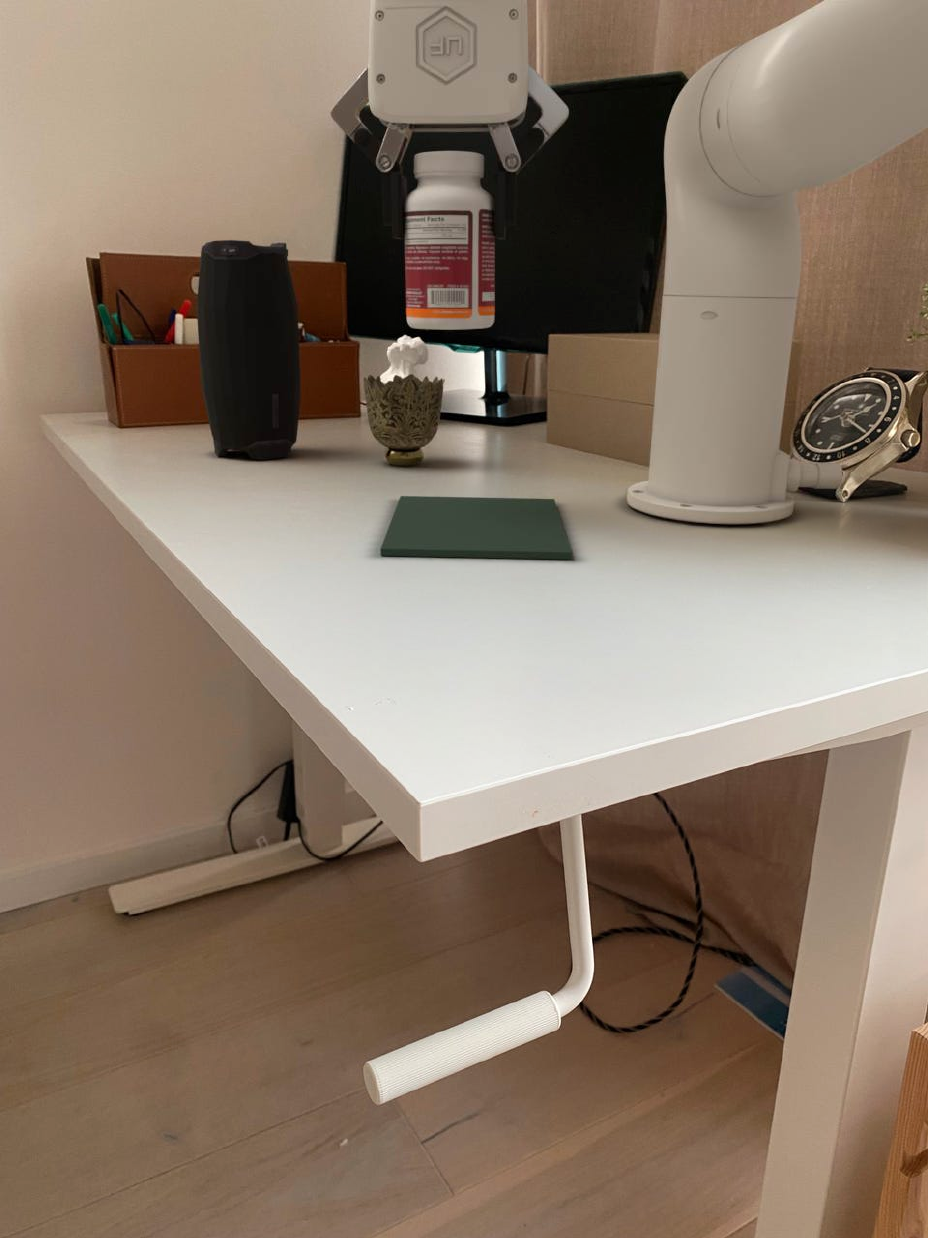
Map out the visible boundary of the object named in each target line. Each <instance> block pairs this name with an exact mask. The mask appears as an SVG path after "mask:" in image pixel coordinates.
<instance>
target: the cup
mask: <svg viewBox="0 0 928 1238" xmlns="http://www.w3.org/2000/svg"><path fill="white" fill-rule="evenodd" d="M380 376H381V375H380ZM380 376H379V375H377V377H374V376H373V375H371V374H369V375H368V376H367V378H366V377H365V376H364V377H363V387H364V395H365V404H366V411H367V419H368V424H369V427H370V428H369V429H370V431H371V433H372V436H373V437H374V439H375V441H377V442H378V443H379V444H380V445H381V446H383V447H386V449H385V451H384V458H385V461H386V462H387V463H388V464H389V465H392V466H396V467H397V466H399V467H412V466H417V465H419V464H421V463H422V461H423V459H424V456H425V455H424V451H423V449H422V448H423V447H426V446H427V445H429V444H430V443H432V441H433V440H434V438H435V436H436V434H437V433H438V428H439V424H440V420H441V419H440V418H441V411H442V403H443V395H444V385H445V384H444V383H445V378H441V377H440V379H439V378H438V376H435V377H434V379H433V380H432V381H430V380H429V377H428V375H426V376H425V377H424V378H423V380H421V379H420V378H419V377H418V378H419V379H420V380H419V379H418V378H416V377H415V376H414V375H413V374H410V375H408V376H407V377H405V378H404V379H402V378H401V377H400V376H397V375H395V376H394V378H393V381H388V382H387V383H383V382H381V380H380ZM384 384H385V385H384Z"/></svg>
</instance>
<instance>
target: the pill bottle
mask: <svg viewBox="0 0 928 1238" xmlns="http://www.w3.org/2000/svg"><path fill="white" fill-rule="evenodd" d="M413 174H414V179H415V180H417V187H416V188H415V189H414V190H412V191H410V192H409V193H408V194H407V198H406V199H405V203H404V235H405V238H404V264H405V265H404V268H405V269H404V271H405V273H404V274H405V314H406V322H407V325H408V326H409V327H410V328H411V329H418V330H441V331H442V330H445V331H446V330H447V331H451V330H453V331H454V330H456V331H457V330H458V331H459V330H476V329H477V330H478V329H488V328H491V327H492V326H493V324H494V323H495V313H496V309H495V308H496V306H495V305H496V301H495V300H496V299H495V298H496V297H495V296H496V295H495V293H496V292H495V291H496V289H495V288H496V287H495V286H496V285H495V278H496V277H495V275H496V273H495V272H496V269H495V268H496V267H495V266H496V262H495V261H496V260H495V259H496V257H495V256H496V253H495V251H496V237H494V196H492V194H491V193H490V192H488V191H487V190H486V189H484V188H483V187H482V185H481V179H484V175H485V156H484V154H481V153H479V152H475V151H466V150H436V151H425V152H418V153H416V154H415V155H414V156H413Z"/></svg>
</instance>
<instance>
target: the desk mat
mask: <svg viewBox="0 0 928 1238" xmlns="http://www.w3.org/2000/svg"><path fill="white" fill-rule="evenodd" d="M379 550H380V551H379V552H380V554H379V555H380V557H418V558H419V557H424V558H465V559H466V558H470V559H471V558H473V559H474V558H475V559H514V560H515V559H518V560H519V559H521V560H572V559H573V557H572V555H573V552H572V550H571V546H570V543H569V541H568V537H567V534H566V531H565V528H564V525H563V521H562V518H561V516H560V512H559V510H558V507H557V504H556V501H555V499H554V498H524V497H520V498H519V497H511V498H510V497H472V496H471V497H469V496H466V497H465V496H460V497H459V496H419V495H418V496H417V495H410V496H409V495H400V496H399V499H398V502H397V505H396V507H395V510H394V512H393V515H392V517H391V520H390V523H389V526H388V528H387V531H386V534H385V536H384V539H383V541H382V543H381V547H380V549H379Z"/></svg>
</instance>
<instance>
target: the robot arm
mask: <svg viewBox="0 0 928 1238" xmlns="http://www.w3.org/2000/svg"><path fill="white" fill-rule="evenodd" d="M369 5H370V6H369V17H368V18H369V21H368V52H367V53H368V55H367V56H368V57H367V66H366V67H365V69H364V70H363V71H362V72H361V73H360V75H359V76H358V77H357V78H356V79H355V81H353V83H352V84H351V85H350V86H349V87H348V88H347V90H345V92H344V93H343V94H342V96H341V97H340V98H339V99H338V100H337V101H336V102H335V104H334V105H333V106H332V107H331V109H330V118H331V119H332V121H334V123H335V124H336V125H338V127H339V128H340V129H341V130H342V131H343V132H344V133H345V134H346V136H347V137H349V139H350V140H351V141H352V142H353V143H354V144H355V145H356V147H358V149H359V150H360V151H361V152H362V153H363V154H364V155H365V156H366V157H367V158H368V159H369V160H370V162H371V163H372V164H373V165H374V166H375V167H376V168H377V169H378V171H380V172H381V205H382V206H381V208H382V224H383V226H384V227H391V238H393V239H395V240H405V235H404V203H405V199H406V198H407V196H408V182H407V177H406V176H404V175H403V173H404V171H403V165H402V163H403V159H404V156H405V154H406V151H407V148H408V146H409V143H410V140H411V138H412V135H413V133H422V132H423V133H461V132H462V133H466V132H467V133H469V132H470V133H471V132H473V133H474V132H477V133H478V132H480V133H481V132H483V133H484V132H489V134H490V137H491V139H492V142H493V145H494V147H495V150H496V152H497V156H498V158H499V160H500V161H499V162H498V164H497V174H494V188H493V189H494V191H493V193H494V194H493V195H494V196H493V199H494V237H495V238H496V239H497V240H506V227H516V225H517V223H516V222H517V221H516V220H517V175H518V174H519V173H520V172H521V171H522V169H523V168H524V167H525V166H526V165H527V164H528V163H529V162H530V161H531V160H532V159H533V157H535V155H537V154H538V152H539V151H540V150H541V149H542V148H543V146H544V145H545V144H547V142H548V141H549V140H550V139H551V138H552V137H553V136H554V135H555V134H556V132H557V131H559V129H560V128H561V127H562V126H563V125H564V124H565V123H566V122H567V120H568V119H569V114H570V110H569V107H568V105H567V104H566V103H565V102H564V100H562V99H561V98H560V97H559V95H558V94H557V93H556V92H555V91H554V90H553V89H552V87H551V86H550V85H549V84H548V83H547V81H545V80H544V78H543V77H542V76H541V75H540V74H539V73H538V71H536V69H535V68H534V67H533V66H532V65H531V64H530V62H529V32H528V31H529V27H528V24H529V23H528V22H529V21H528V20H529V19H528V18H529V17H528V0H370V3H369ZM528 98H529V99H530V100H531V101H532V102H533V104H535V106H536V107H537V108H538V109H539V110H540V111H541V116H540V118H539V119H538V120H537V122H535V124H534V125H533V126H532V127H531V128H530V129H529V130H528V131H527V132H526V133H525V134H524V135H523V136H522V137H521V138H520V139H519V140H518V142H517V143H515V140H514V136H513V134H512V132H511V129H514V128H516V127H517V126H520V124H521V123H522V122H523V121H524V119H525V114H526V108H527V105H528ZM368 103H369V108H370V109H369V110H370V111H371V113H372V115H373V116H374V117H375V118H377V119H379V121H380V123H381V124H382V125H383V126H385V127H387V128H386V131H385V133H384V136H383V139H382V142H380V140H378V139H377V137H376V136H375V135H374V134H373V133H372V132H371V131H370V130H369V128H368V127H367V126H366V125H365V124H364V123H363V122H362V120H361V118H360V113H361V111H363V109H364V108H365V107H366V105H368ZM927 129H928V0H822V1H820V2H819V3H817V4H816V5H814V6H812V7H810V8H809V9H806V10H805V11H803V12H802V13H800V14H797V15H796V16H794V17H792V18H791V19H789V20H787V21H785V22H783V23H782V24H780V25H778V26H776V27H773V28H771V29H770V30H768V31H766V32H764V33H762V34H760V35H758V36H755V37H753V38H751V39H748V40H747V41H744V42H743V43H739V44H738V45H737V46H734V47H732V48H731V49H729V50H727V51H725V52H723V53H721V54H719V55H717V56H715V57H714V58H712V59H711V60H710V61H708V62H707V63H706V64H703V66H701V67H700V68H699V69H698V70H697V71H696V72H695V73H694V74H693V75H692V76H691V77H690V78H689V80H688V81H687V82H686V83H685V84H684V86H683V88H682V89H681V91H679V94H678V95H677V97H676V99H675V101H674V104H673V105H672V108H671V111H670V114H669V117H668V120H667V123H666V128H665V134H664V145H663V146H664V147H663V169H664V184H665V199H666V201H665V202H666V242H665V243H666V245H665V249H666V250H665V261H664V263H665V265H664V276H663V277H664V278H663V289H662V290H663V292H662V300H661V310H660V311H661V312H660V323H659V324H660V326H659V336H658V337H659V338H658V350H657V351H658V352H657V363H656V376H655V387H654V388H655V389H654V400H653V402H654V403H653V413H652V427H651V428H652V429H651V439H650V440H651V441H650V453H649V465H648V466H649V467H648V478H647V480H644V481H643V480H642V481H639V482H636V483H633V484H631V485H630V486H629V487H628V488H627V491H626V493H627V495H626V503H627V505H628V506H630V507H631V508H633V509H634V510H636V511H638V512H641V513H644V514H647V515H651V516H655V517H659V518H663V519H669V520H673V521H681V522H690V523H697V524H698V523H699V524H714V525H755V524H764V523H773V522H777V521H781V520H784V519H787V518H788V517H790V516H791V515H792V514H793V512H794V507H795V498H794V496H792V495H790V494H789V493H797V491H798V489H799V488H812V489H814V490H815V489H816V490H838V489H839V488H840V487H841V484H842V481H843V467H842V465H841V464H840V463H833V462H831V463H830V462H827V463H826V462H814V461H808V460H806V461H805V460H804V461H803V460H799V459H798V458H791V455H790V454H788V453H787V452H785V451H782V450H781V449H780V445H781V436H782V430H783V429H782V428H783V420H784V411H785V405H786V404H785V403H786V394H787V388H788V387H787V386H788V378H789V377H788V376H789V369H790V362H791V354H792V346H793V345H792V344H793V337H794V328H795V320H796V319H795V318H796V310H797V303H798V297H799V293H800V292H799V291H800V283H801V282H800V281H801V274H802V257H803V255H802V254H803V249H802V248H803V247H802V245H803V244H802V241H803V240H802V229H801V221H800V213H799V212H800V211H799V206H798V196H797V192H800V191H805V190H810V189H815V188H819V187H823V186H825V185H828V184H830V183H832V182H835V181H838V180H840V179H843V178H844V177H846V176H848V175H850V174H852V173H854V172H855V171H857V170H859V169H861V168H863V167H865V166H867V165H868V164H870V163H872V162H873V161H875V160H876V159H878V158H881V157H882V156H884V155H886V154H887V153H888V152H890V151H892V150H893V149H895V148H896V147H899V146H900V145H902V144H903V143H906V142H907V141H909V140H910V139H912V138H913V137H915V136H917V135H918V134H920V133H922V132H924V131H925V130H927Z"/></svg>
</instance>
